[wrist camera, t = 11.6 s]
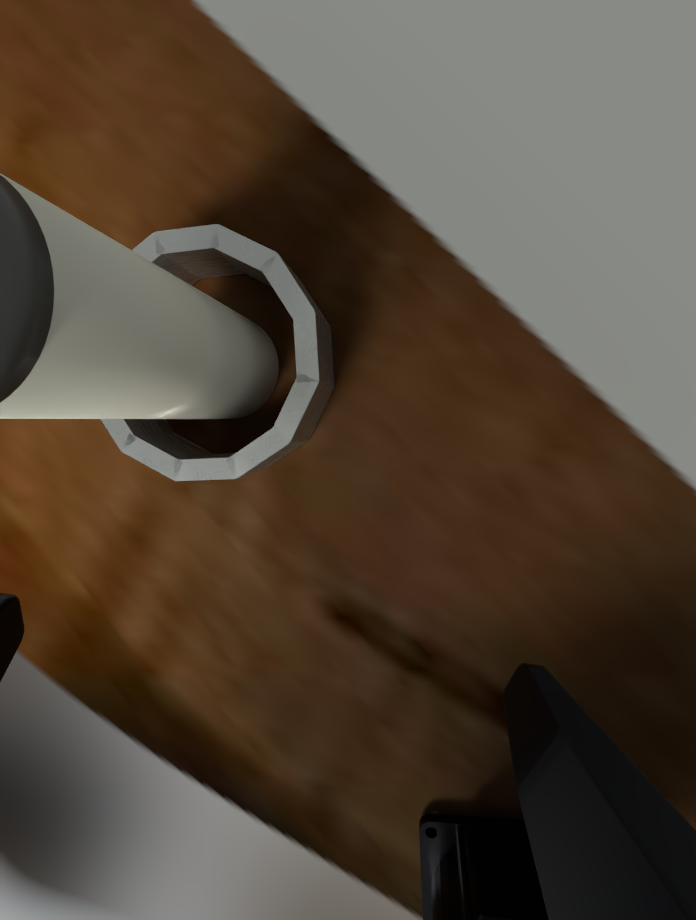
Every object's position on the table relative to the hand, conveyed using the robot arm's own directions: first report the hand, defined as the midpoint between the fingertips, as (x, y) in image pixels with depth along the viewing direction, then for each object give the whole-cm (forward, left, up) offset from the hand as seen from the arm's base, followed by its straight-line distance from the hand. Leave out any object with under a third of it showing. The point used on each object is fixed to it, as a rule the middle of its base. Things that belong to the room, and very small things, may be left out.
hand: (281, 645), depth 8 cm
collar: (+7, +5, -11) cm, 14 cm away
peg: (+7, +5, -11) cm, 14 cm away
